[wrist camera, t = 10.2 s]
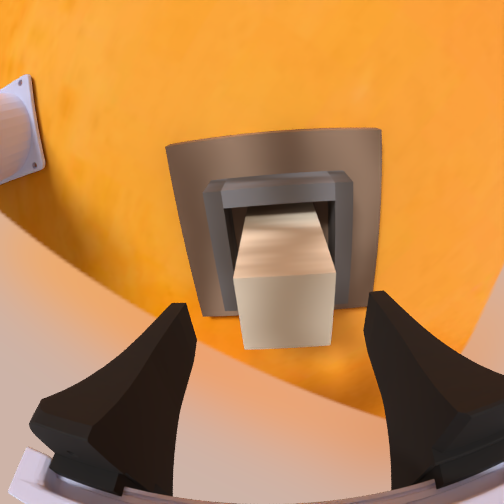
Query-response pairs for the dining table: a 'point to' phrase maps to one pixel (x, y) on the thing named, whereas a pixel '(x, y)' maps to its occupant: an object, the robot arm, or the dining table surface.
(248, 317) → the square peg
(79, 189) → the dining table surface
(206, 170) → the socket block
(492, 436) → the robot arm
